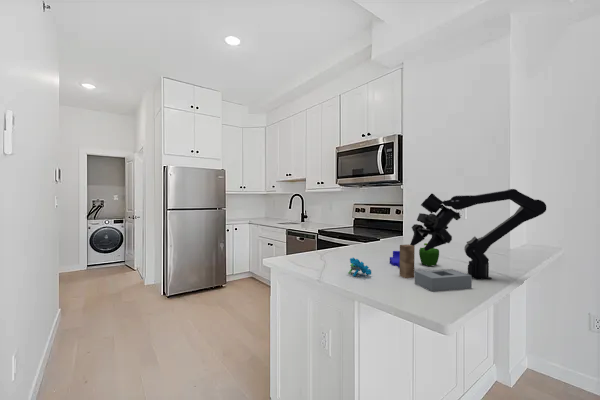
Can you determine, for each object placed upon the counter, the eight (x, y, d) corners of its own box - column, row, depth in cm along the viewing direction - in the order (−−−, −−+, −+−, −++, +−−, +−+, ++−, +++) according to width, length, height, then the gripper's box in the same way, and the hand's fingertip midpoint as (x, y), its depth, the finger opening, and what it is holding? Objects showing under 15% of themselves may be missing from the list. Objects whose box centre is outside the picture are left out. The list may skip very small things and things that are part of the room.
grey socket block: (451, 280, 113) (451, 269, 113) (471, 288, 104) (471, 275, 104) (414, 283, 109) (414, 271, 109) (432, 291, 100) (432, 278, 100)
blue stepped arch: (389, 263, 143) (389, 250, 143) (398, 263, 143) (399, 250, 143) (397, 269, 131) (397, 255, 131) (407, 269, 131) (407, 256, 131)
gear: (377, 273, 117) (360, 256, 115) (368, 285, 115) (351, 268, 113) (361, 271, 127) (346, 255, 125) (353, 282, 125) (337, 266, 123)
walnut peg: (408, 275, 121) (408, 244, 121) (414, 277, 117) (414, 246, 117) (399, 275, 120) (399, 244, 120) (405, 278, 116) (405, 246, 116)
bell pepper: (442, 266, 135) (443, 245, 135) (426, 267, 134) (426, 245, 134) (431, 262, 144) (432, 242, 144) (416, 263, 142) (416, 242, 142)
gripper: (415, 205, 130) (392, 231, 128) (445, 207, 112) (419, 237, 109) (431, 223, 132) (408, 249, 130) (463, 227, 114) (437, 257, 111)
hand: (417, 247), depth 120 cm, fingers open, 9 cm apart
